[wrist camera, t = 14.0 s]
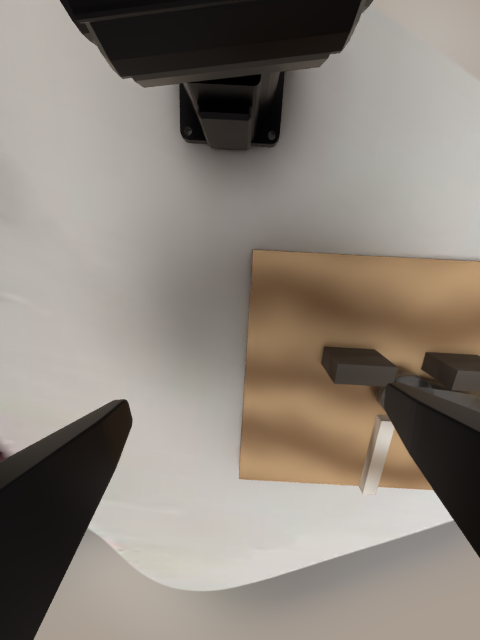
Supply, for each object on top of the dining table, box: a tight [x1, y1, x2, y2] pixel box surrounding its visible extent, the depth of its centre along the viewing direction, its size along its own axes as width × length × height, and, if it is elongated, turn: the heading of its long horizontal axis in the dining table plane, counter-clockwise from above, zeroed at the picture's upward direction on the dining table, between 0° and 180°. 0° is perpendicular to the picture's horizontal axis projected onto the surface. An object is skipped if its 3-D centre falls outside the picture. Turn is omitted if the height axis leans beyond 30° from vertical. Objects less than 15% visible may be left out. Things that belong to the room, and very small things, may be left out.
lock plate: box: [239, 250, 480, 495], centre depth 19 cm, size 21×23×4 cm
